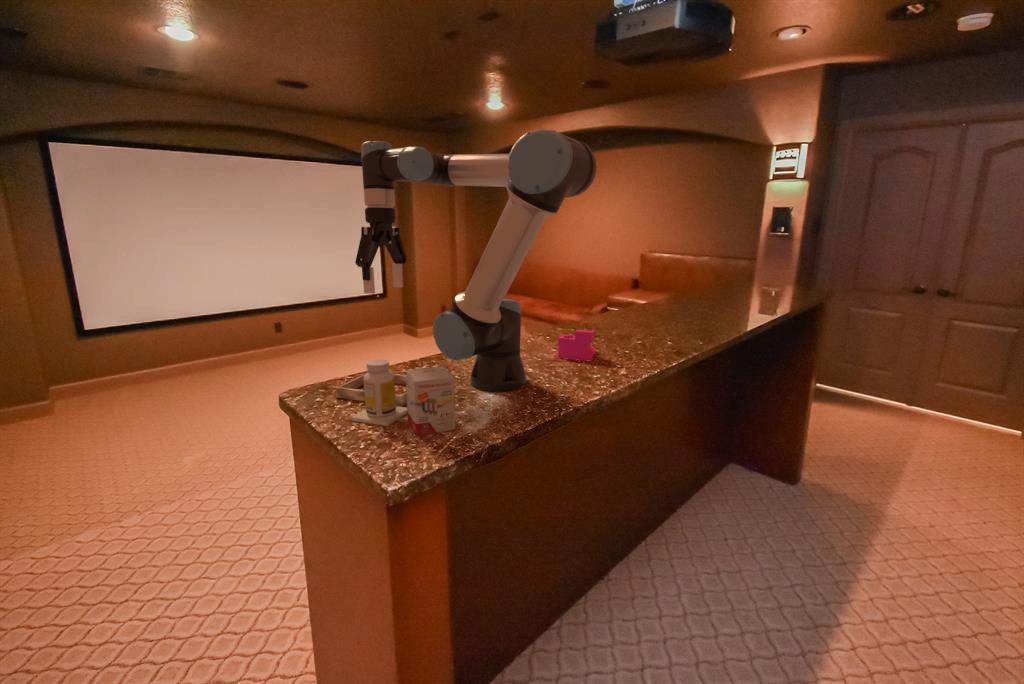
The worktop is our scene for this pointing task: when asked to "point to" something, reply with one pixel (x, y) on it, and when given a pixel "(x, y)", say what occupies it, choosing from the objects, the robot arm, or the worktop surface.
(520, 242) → the robot arm
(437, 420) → the ink box
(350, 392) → the corral
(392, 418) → the coaster
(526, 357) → the worktop surface
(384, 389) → the pill bottle
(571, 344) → the magenta stepped block
